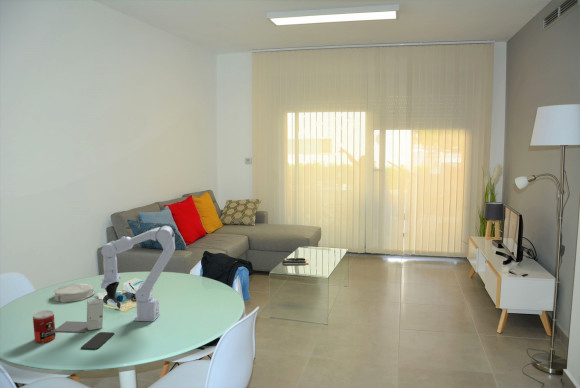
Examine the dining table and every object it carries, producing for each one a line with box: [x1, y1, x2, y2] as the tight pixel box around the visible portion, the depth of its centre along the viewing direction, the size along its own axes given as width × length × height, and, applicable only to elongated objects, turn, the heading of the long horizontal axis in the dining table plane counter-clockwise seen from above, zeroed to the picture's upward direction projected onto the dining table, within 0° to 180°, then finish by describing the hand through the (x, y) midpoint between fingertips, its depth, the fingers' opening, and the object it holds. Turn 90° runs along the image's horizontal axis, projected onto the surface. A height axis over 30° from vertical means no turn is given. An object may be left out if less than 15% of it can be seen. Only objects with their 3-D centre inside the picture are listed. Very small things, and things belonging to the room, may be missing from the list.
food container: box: [53, 283, 96, 303], centre depth 238 cm, size 20×20×7 cm
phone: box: [80, 331, 115, 351], centre depth 186 cm, size 7×1×15 cm
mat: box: [55, 320, 89, 334], centre depth 199 cm, size 14×10×1 cm
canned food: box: [32, 310, 56, 344], centre depth 187 cm, size 8×8×11 cm
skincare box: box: [86, 298, 104, 331], centre depth 198 cm, size 6×4×12 cm
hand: (111, 298), depth 206 cm, fingers closed
